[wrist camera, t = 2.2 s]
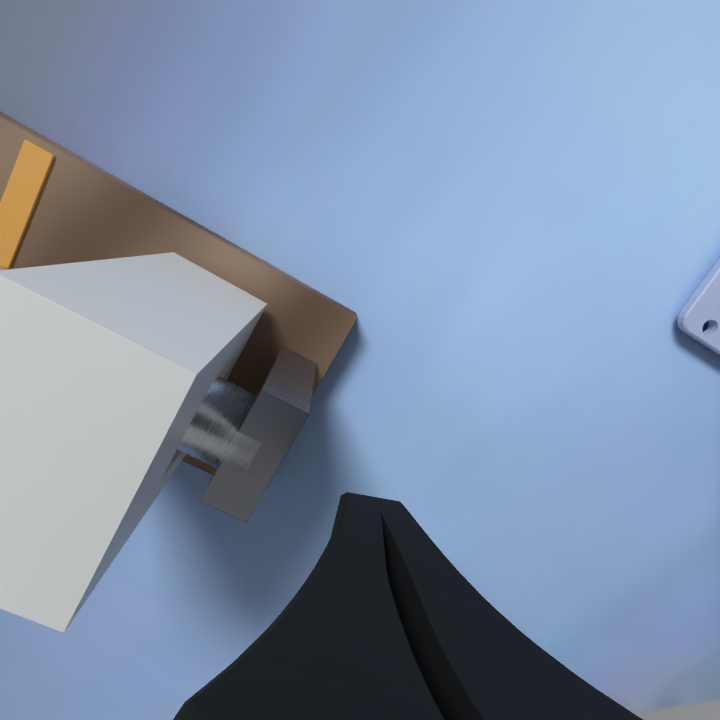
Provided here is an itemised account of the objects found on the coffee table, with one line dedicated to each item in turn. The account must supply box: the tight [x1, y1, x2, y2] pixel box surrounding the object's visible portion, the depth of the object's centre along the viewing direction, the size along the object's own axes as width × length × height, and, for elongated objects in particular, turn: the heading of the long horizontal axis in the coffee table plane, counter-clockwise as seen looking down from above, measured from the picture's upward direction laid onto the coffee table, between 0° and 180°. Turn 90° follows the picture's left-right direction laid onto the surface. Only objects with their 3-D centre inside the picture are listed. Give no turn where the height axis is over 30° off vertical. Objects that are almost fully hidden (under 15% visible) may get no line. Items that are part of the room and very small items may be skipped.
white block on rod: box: [0, 252, 267, 633], centre depth 11 cm, size 3×5×7 cm, turn 150°
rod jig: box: [0, 112, 357, 522], centre depth 12 cm, size 15×7×6 cm, turn 60°
